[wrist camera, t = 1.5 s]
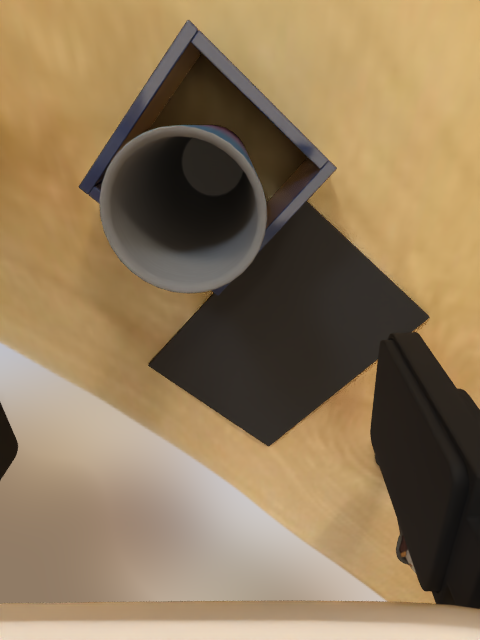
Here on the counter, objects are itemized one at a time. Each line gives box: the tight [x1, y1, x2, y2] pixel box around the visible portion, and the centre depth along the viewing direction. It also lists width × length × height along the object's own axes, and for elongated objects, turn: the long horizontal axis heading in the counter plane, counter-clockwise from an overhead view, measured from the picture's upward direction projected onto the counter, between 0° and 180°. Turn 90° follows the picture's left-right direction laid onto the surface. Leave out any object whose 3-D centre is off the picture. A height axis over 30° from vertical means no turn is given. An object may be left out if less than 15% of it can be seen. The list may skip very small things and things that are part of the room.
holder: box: [79, 20, 337, 295], centre depth 28 cm, size 11×11×6 cm
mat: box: [148, 201, 430, 446], centre depth 37 cm, size 15×20×1 cm
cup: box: [99, 125, 267, 293], centre depth 24 cm, size 7×7×15 cm
